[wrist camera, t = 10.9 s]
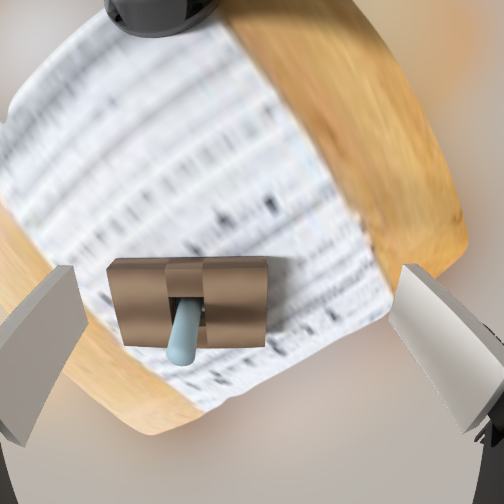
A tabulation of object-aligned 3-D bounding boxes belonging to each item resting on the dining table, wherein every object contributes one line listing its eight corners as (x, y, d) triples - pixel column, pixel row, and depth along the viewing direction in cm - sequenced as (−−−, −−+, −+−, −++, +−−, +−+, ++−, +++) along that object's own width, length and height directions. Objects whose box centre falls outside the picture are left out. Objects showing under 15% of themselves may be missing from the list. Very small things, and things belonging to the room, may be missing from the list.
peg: (180, 288, 39) (164, 343, 28) (202, 288, 39) (193, 345, 28) (181, 306, 40) (167, 365, 29) (203, 307, 40) (195, 366, 29)
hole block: (115, 258, 37) (106, 269, 33) (264, 256, 38) (268, 267, 35) (130, 331, 41) (124, 345, 38) (262, 332, 42) (264, 347, 39)
